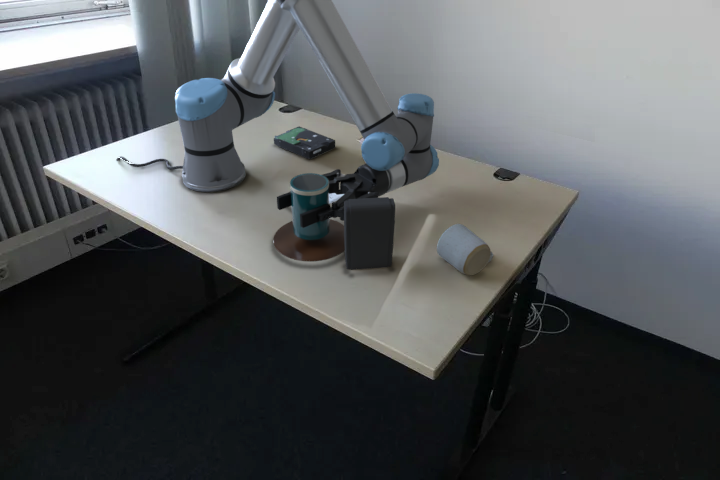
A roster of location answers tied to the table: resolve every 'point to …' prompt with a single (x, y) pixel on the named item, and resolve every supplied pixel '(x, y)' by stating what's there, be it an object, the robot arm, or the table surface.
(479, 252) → the ceramic mug
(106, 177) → the table surface
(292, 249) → the plate
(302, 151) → the disk drive
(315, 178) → the tumbler
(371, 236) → the card reader
